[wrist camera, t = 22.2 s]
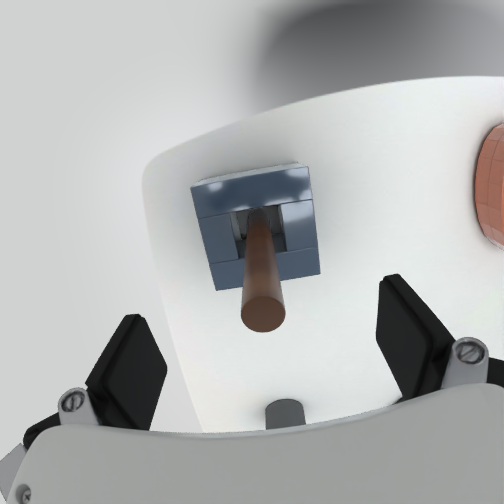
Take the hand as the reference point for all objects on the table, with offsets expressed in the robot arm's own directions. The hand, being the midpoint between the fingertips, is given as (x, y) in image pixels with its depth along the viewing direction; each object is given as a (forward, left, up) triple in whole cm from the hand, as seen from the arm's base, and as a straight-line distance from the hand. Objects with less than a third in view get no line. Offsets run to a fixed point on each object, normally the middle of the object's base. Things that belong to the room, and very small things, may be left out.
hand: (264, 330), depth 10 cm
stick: (+1, 0, -18) cm, 18 cm away
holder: (0, 0, -18) cm, 18 cm away
